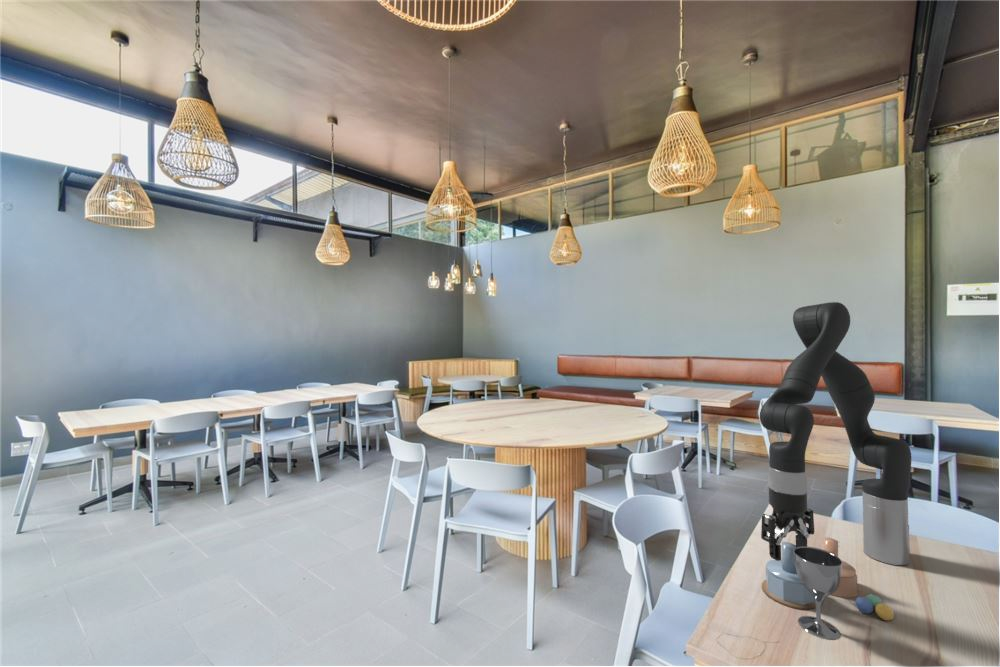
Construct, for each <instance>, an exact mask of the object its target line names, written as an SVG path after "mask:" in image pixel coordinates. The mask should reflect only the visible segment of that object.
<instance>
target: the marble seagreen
mask: <svg viewBox="0 0 1000 667" xmlns="http://www.w3.org/2000/svg"><path fill="white" fill-rule="evenodd" d="M864 598H866V599H867V600H869V601H870V602H871V603H872V605H873V611H875V606H876V605H877V604H884V603H883V601H882V599H881V598H880V597H879V596H877V595H876V594H867V595H866V596H865V597H864Z"/></svg>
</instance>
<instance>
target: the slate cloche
mask: <svg viewBox="0 0 1000 667" xmlns="http://www.w3.org/2000/svg"><path fill="white" fill-rule="evenodd" d="M795 548H796V544H794V543H792V542H789V541H788V542H787V541H783V542H782V541H781V560H780V561H777V560H775V559H772V560H771V559H770V560H768V561H767V562H766V564H765V580H766V584H767V588H768V591H769V592H771V593H772V594H774V595H775V596H777V597H779V598H780V599H782V600H783V601H788V602H792V603H796V604H801V605H805V604H809V603H812V602H815V601H814V598H813V596H812V594H811V593H810V592H809V590H808V589H807V588H806V587H805V586H804V585H803V583H802V582H801V581H800V579H799V577H798V574H797V571H796V566H795V557H794V552H795Z"/></svg>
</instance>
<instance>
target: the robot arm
mask: <svg viewBox="0 0 1000 667" xmlns="http://www.w3.org/2000/svg"><path fill="white" fill-rule="evenodd" d="M792 321H793V326H794V329H795V332H796V334H797V335H798V337H799V339H800V340H801V342H802V343H803V345H804V347H805V350H804V351H802V352H800V354H799V355H797V356H796V357H795V358H794V359H793V360H792V361H791V362H790V363H789V365H788V366H787V369H786V370H785V373H784V375H783V378H782V380H781V383H780V385H779V386H778V387H777V389H775V391H774V392H773V393H772V394H771V395H770V397H769V398H768V399H767V400H766V401H765V402H764V403H763V405H762V406H761V409H760V410H759V411H760V412H759V421H760V424H761V426H762V427H763V428H765V429H766V430H768V431H771V432H775V433H780V434H788V435H790V440H789V441H773V442H771V443H770V444H769V450H768V451H769V452H768V454H769V455H768V458H769V459H768V461H769V469H768V476H767V477H768V503H769V505H770V506H771V508H772V513H771V514H766V513H762V515H761V533H760V534H761V536H760V537H761V539H762V540H763V541H765V542H768V548H769V550H768V551H769V557H770V558H771V559H772V560H777V561H780V560H782V541H783V539H784V538H787V536H788V534H789V533H791V532H795V534H796V535H795V545H796V548H797V547H802V546H806V547H808V539H809V538H810V536H811V535H815V519H814V518H815V517H814V510H813V509H810V508H808V486H807V485H808V484H807V483H808V481H807V475H806V474H807V473H806V451H807V447H808V444H809V440H810V436H811V433H812V431H813V429H814V425H815V423H814V422H815V419H814V418H815V417H814V415H813V412H812V411H811V410H810V409H809V408H808V407H807V406H804V404H808V403H810V402H811V401H812V400H813V398H814V396H815V393H816V391H817V388H818V386H819V383H820V380H821V378H822V380H823V382H824V384H825V387H826V389H827V391H828V394H829V396H830V397H831V399H832V401H833V403H834V405H835V407H836V409H837V411H838V414H839V416H840V418H841V421H842V423H843V426H844V428H845V431H846V434H847V438H848V440H849V444H850V447H851V450H852V452H853V455H854V456H855V458H856V459H857V461H858V462H860V463H861V464H862V465H865V466H867V467H871V468H875V469H878V470H882V473H881V478H867V479H864V480H863V481H862V484H861V486H862V488H861V489H862V490H861V491H862V492H861V493H862V534H863V535H862V542H863V545H862V546H863V553H864V554H865V555H867V556H868V557H869V558H871V559H874V560H876V561H878V562H882V563H885V564H887V565H894V566H895V565H896V566H906V565H909V564H910V559H911V557H910V555H911V554H910V524H909V500H908V499H909V498H908V497H909V496H908V495H909V490H910V487H911V475H912V474H911V472H912V452H911V448H910V446H909V444H908V443H907V442H906V441H904V440H903V439H900V438H895V437H891V436H886V435H881V434H876V433H875V432H874V431H873V428H872V427H871V425H870V424H869V420H868V418H869V414H870V413H871V411H872V409H873V406H874V404H875V400H876V397H875V396H876V395H875V392H874V389H873V387H872V385H871V384H872V383H870V380H869V378H868V376H867V374H866V373H865V372H864V371H863V369H862V368H861V367H859V366H858V365H857V364H856V363H854V362H852V361H851V360H849V359H848V358H846V357H845V356H843V355H842V354H841V353H840V352H838V351H837V349H838V348H839V347H840V345H841V343H842V342H843V340H844V339H845V338H846V335H847V333H848V332H849V329H850V325H851V315H850V312H849V310H848V308H847V306H846V305H844V304H843V303H842V302H836V301H832V302H831V301H830V302H824V303H817V304H812V305H805V306H801V307H798V308H797V309H795V310H794V312H793V316H792ZM802 404H803V405H802ZM807 525H808V526H807ZM777 528H778V529H779V530H778V529H777ZM776 535H777V536H776Z"/></svg>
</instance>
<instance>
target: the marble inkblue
mask: <svg viewBox="0 0 1000 667" xmlns="http://www.w3.org/2000/svg"><path fill="white" fill-rule="evenodd" d="M854 605H855V607H856V609H857V610H858V611H859V612H862V613H863V614H871V613H872V612H873V611H874V609H873V605H872V603H871V602H870V601H869V600H867V599H866V598H865V597H861V596H860V597H857V598H856V599H855V602H854Z"/></svg>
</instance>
